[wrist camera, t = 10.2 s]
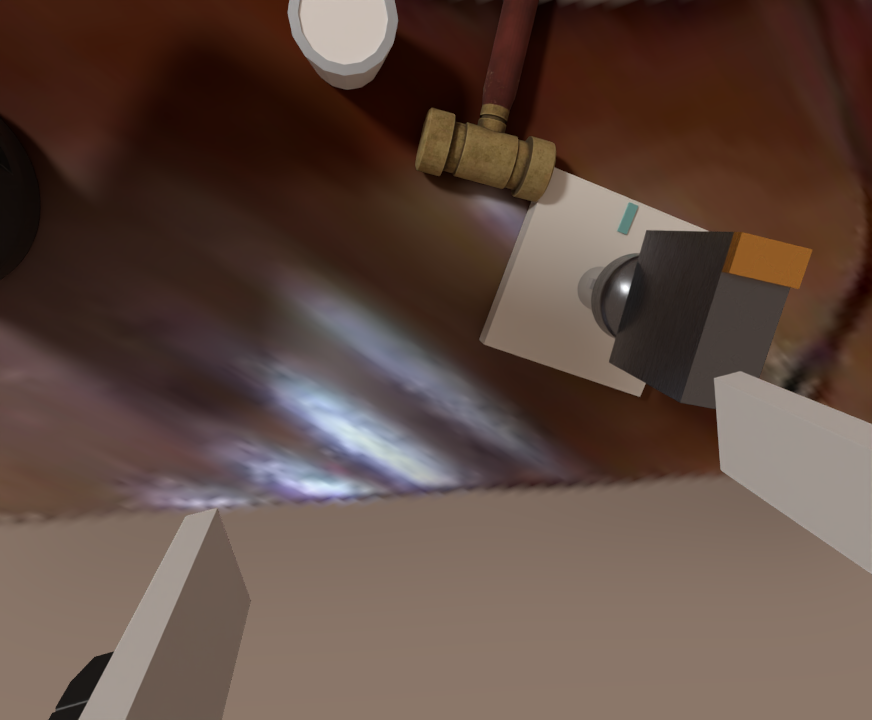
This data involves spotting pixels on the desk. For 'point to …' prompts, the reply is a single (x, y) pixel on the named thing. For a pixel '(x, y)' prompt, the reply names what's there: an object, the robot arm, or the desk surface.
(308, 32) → the shot glass
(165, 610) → the robot arm
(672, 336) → the grey block orange cap
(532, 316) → the base
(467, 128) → the gavel
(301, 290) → the desk surface
